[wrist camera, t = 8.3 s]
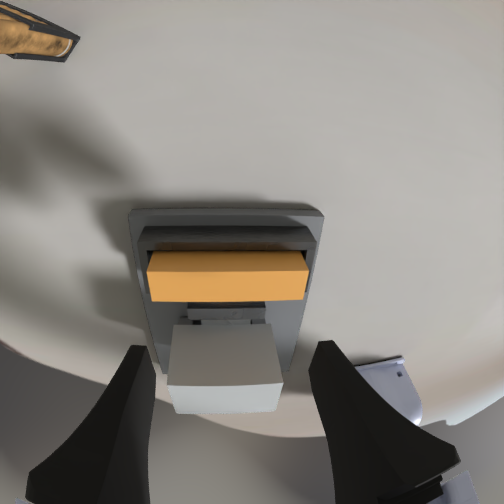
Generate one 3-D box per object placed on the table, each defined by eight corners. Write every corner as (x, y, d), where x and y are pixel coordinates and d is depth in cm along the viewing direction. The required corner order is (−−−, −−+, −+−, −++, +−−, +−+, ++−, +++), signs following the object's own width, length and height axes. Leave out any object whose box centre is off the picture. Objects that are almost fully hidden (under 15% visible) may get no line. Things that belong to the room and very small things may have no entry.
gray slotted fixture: (307, 226, 17) (317, 242, 16) (279, 366, 25) (283, 383, 23) (144, 225, 16) (136, 242, 15) (171, 368, 24) (169, 386, 22)
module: (269, 316, 21) (283, 382, 16) (264, 349, 23) (275, 410, 18) (174, 316, 20) (166, 385, 15) (180, 350, 22) (176, 413, 17)
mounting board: (319, 210, 18) (324, 216, 17) (286, 363, 26) (288, 371, 26) (132, 209, 17) (127, 215, 16) (163, 365, 25) (162, 373, 24)
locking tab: (300, 250, 16) (309, 270, 15) (295, 278, 17) (302, 299, 16) (153, 251, 15) (146, 271, 14) (157, 279, 16) (152, 301, 15)
